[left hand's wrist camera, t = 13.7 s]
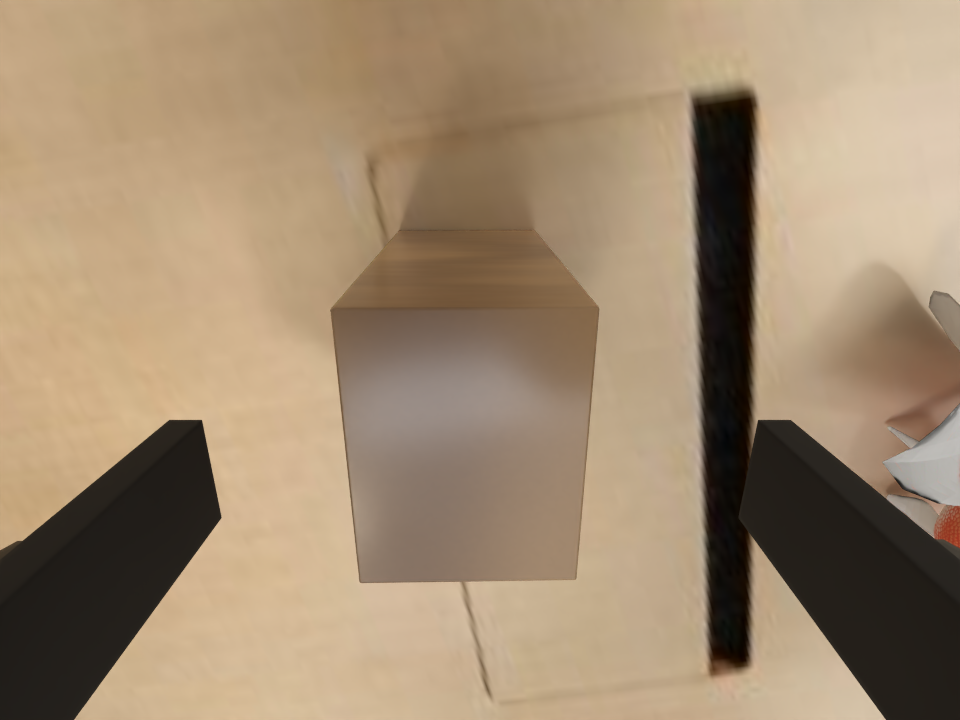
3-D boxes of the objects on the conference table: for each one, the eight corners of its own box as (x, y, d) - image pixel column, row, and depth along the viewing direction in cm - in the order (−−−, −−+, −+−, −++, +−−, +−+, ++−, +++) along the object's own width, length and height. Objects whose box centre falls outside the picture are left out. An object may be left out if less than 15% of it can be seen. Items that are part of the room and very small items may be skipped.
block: (535, 229, 22) (600, 306, 11) (529, 392, 25) (576, 580, 14) (398, 230, 22) (330, 308, 11) (407, 393, 25) (359, 583, 14)
